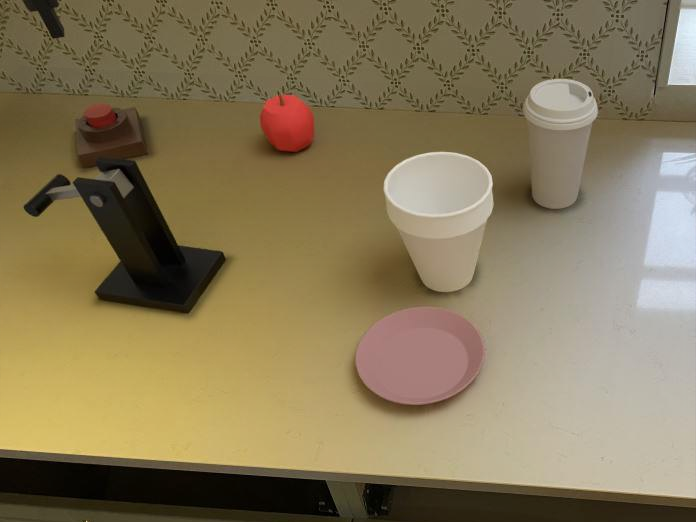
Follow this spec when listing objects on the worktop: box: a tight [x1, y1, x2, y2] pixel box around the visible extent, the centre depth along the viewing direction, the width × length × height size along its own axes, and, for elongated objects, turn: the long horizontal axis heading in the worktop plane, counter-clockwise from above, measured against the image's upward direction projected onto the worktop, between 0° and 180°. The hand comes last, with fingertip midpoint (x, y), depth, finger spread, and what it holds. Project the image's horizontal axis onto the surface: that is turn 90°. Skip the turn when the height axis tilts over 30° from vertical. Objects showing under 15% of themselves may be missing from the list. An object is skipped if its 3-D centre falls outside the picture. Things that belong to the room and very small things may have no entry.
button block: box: [74, 106, 149, 169], centre depth 100 cm, size 11×9×4 cm
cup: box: [383, 151, 494, 293], centre depth 78 cm, size 12×12×14 cm
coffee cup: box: [522, 78, 599, 210], centre depth 87 cm, size 10×10×15 cm
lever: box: [23, 169, 134, 218], centre depth 73 cm, size 12×6×2 cm, turn 78°
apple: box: [259, 94, 315, 153], centre depth 98 cm, size 8×8×8 cm
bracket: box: [72, 156, 227, 314], centre depth 76 cm, size 12×10×16 cm
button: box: [83, 103, 117, 127], centre depth 98 cm, size 4×4×2 cm
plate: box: [355, 306, 486, 406], centre depth 73 cm, size 14×14×2 cm
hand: (58, 33), depth 89 cm, fingers closed
